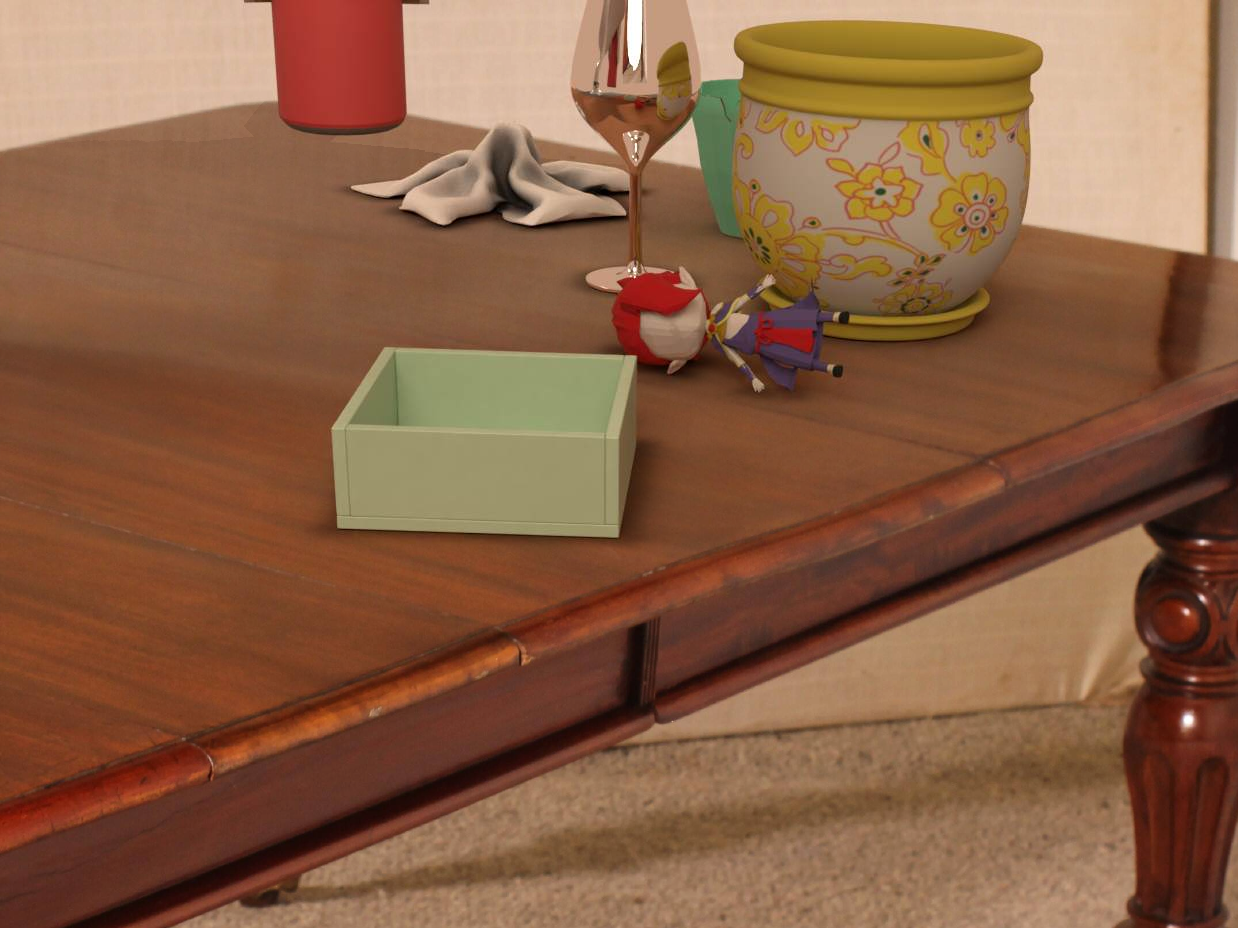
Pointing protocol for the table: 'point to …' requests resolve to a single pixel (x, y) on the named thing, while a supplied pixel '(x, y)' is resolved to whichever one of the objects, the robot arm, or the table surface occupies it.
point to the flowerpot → (882, 168)
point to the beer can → (340, 65)
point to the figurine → (719, 327)
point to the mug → (718, 146)
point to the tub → (488, 443)
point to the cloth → (506, 183)
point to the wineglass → (635, 94)
